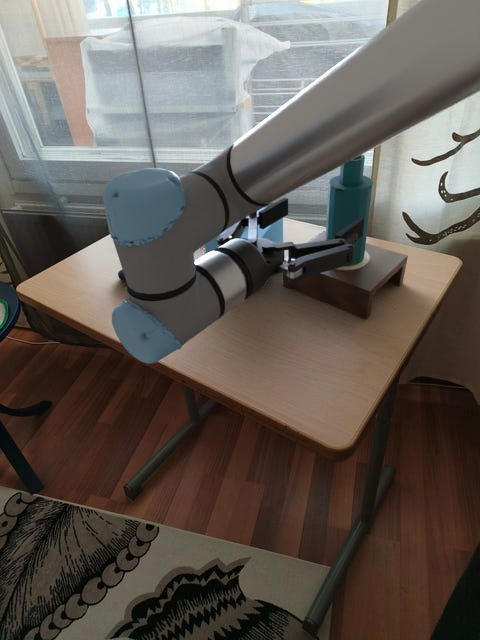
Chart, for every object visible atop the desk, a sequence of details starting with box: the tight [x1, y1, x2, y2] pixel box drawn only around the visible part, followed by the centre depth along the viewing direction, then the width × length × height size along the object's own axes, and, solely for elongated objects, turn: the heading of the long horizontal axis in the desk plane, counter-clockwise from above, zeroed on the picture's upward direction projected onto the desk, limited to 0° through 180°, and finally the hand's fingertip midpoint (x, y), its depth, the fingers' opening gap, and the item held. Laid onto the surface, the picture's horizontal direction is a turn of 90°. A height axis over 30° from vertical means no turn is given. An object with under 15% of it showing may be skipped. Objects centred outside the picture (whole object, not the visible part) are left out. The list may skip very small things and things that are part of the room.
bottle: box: [325, 154, 374, 266], centre depth 72 cm, size 7×7×18 cm
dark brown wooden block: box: [282, 230, 409, 320], centre depth 80 cm, size 18×14×6 cm
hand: (321, 215), depth 65 cm, fingers open, 13 cm apart
